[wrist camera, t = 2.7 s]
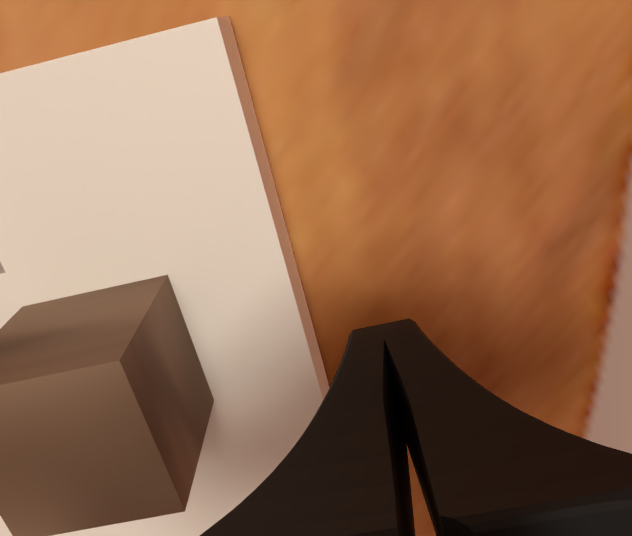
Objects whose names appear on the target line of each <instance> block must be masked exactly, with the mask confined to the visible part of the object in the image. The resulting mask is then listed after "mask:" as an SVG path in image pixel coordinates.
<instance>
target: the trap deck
mask: <svg viewBox="0 0 632 536" xmlns="http://www.w3.org/2000/svg"><path fill="white" fill-rule="evenodd" d="M164 275H168V277H169V280H170V282H171V285H172V288H173V290H174V293H175V296H176V299H177V301H178V304H179V307H180V309H181V312H182V315H183V317H184V320H185V323H186V326H187V328H188V331H189V334H190V336H191V339H192V342H193V344H194V347H195V350H196V353H197V355H198V358H199V361H200V363H201V366H202V369H203V371H204V374H205V377H206V380H207V382H208V385H209V388H210V390H211V393H212V396H213V399H214V403H213V407H212V410H211V414H210V418H209V422H208V426H207V430H206V433H205V437H204V441H203V445H202V449H201V453H200V456H199V460H198V464H197V468H196V472H195V476H194V479H193V483H192V487H191V491H190V495H189V499H188V502H187V506H186V510H185V512H180V513H174V514H168V515H163V516H157V517H152V518H146V519H141V520H135V521H129V522H124V523H118V524H113V525H107V526H102V527H96V528H90V529H85V530H79V531H74V532H68V533H63V534H57V535H51V536H200V535H201V534H202V533H204V532H205V531H206V530H207V529H209V528H210V527H211V526H213V525H214V524H215V523H216V522H218V521H219V520H220V519H221V518H223V517H224V516H225V515H227V514H228V513H229V512H230V511H232V510H233V509H234V508H235V507H236V506H237V505H239V504H240V503H241V502H242V501H243V500H244V499H245V498H246V497H247V496H248V495H250V494H251V493H252V492H253V491H254V490H255V489H256V488H257V487H258V486H259V485H260V484H261V483H262V482H263V481H264V480H265V479H266V478H267V477H268V476H269V475H270V474H271V473H272V472H273V471H274V469H275V468H276V467H277V466H278V465H279V464H280V462H281V461H282V460H283V459H284V458H285V457H286V455H287V454H288V453H289V452H290V450H291V449H292V448H293V447H294V445H295V444H296V443H297V441H298V440H299V438H300V437H301V436H302V434H303V433H304V431H305V430H306V428H307V427H308V425H309V424H310V422H311V421H312V419H313V417H314V416H315V414H316V412H317V410H318V409H319V407H320V405H321V403H322V401H323V399H324V398H325V396H326V394H327V392H328V390H329V388H330V387H329V383H328V380H327V376H326V372H325V369H324V365H323V361H322V358H321V354H320V350H319V346H318V343H317V339H316V335H315V332H314V328H313V324H312V321H311V317H310V313H309V309H308V306H307V302H306V298H305V295H304V291H303V287H302V284H301V280H300V276H299V272H298V269H297V265H296V261H295V258H294V254H293V250H292V247H291V243H290V239H289V235H288V232H287V228H286V224H285V221H284V217H283V213H282V210H281V206H280V202H279V198H278V195H277V191H276V187H275V184H274V180H273V176H272V173H271V169H270V165H269V161H268V158H267V154H266V150H265V147H264V143H263V139H262V136H261V132H260V128H259V124H258V121H257V117H256V113H255V110H254V106H253V102H252V99H251V95H250V91H249V87H248V84H247V80H246V76H245V73H244V69H243V65H242V62H241V58H240V54H239V50H238V47H237V43H236V39H235V36H234V32H233V28H232V25H231V21H230V17H216V18H212V19H208V20H204V21H200V22H197V23H193V24H189V25H185V26H181V27H177V28H173V29H170V30H166V31H162V32H158V33H154V34H150V35H146V36H143V37H139V38H135V39H131V40H127V41H123V42H119V43H116V44H112V45H108V46H104V47H100V48H96V49H92V50H89V51H85V52H81V53H77V54H73V55H69V56H65V57H62V58H58V59H54V60H50V61H46V62H42V63H38V64H35V65H31V66H27V67H23V68H19V69H15V70H11V71H8V72H4V73H0V329H1V328H2V327H3V326H4V325H5V324H6V322H7V321H8V320H9V319H10V318H11V317H12V316H13V315H14V314H15V313H16V312H17V311H18V310H19V309H20V308H21V307H22V306H27V305H31V304H36V303H41V302H45V301H50V300H54V299H59V298H63V297H68V296H73V295H77V294H82V293H86V292H91V291H95V290H100V289H105V288H109V287H114V286H118V285H123V284H127V283H132V282H137V281H141V280H146V279H150V278H155V277H159V276H164ZM0 536H12V534H11V532H10V531H9V529H8V527H7V526H6V524H5V522H4V521H3V519H2V517H1V516H0Z"/></svg>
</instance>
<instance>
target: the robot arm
mask: <svg viewBox="0 0 632 536" xmlns="http://www.w3.org/2000/svg"><path fill="white" fill-rule="evenodd" d="M406 443H407V444H406ZM407 446H408V449H409V452H410V455H411V458H412V461H413V465H414V468H415V471H416V474H417V477H418V480H419V483H420V486H421V489H422V492H423V495H424V499H425V502H426V505H427V508H428V511H429V514H430V517H431V520H432V523H433V526H434V529H435V532H436V536H632V454H630V453H627V452H623V451H620V450H617V449H613V448H609V447H606V446H603V445H600V444H597V443H594V442H591V441H589V440H586V439H583V438H581V437H578V436H575V435H573V434H570V433H567V432H565V431H563V430H560V429H558V428H556V427H553V426H551V425H549V424H547V423H545V422H543V421H541V420H538V419H536V418H534V417H532V416H530V415H528V414H526V413H524V412H522V411H520V410H518V409H517V408H515V407H513V406H511V405H510V404H508V403H507V402H505V401H503V400H502V399H500V398H499V397H497V396H495V395H494V394H492V393H491V392H490V391H488V390H487V389H485V388H484V387H482V386H481V385H480V384H478V383H477V382H476V381H475V380H473V379H472V378H471V377H469V376H468V375H467V374H466V373H464V372H463V371H462V370H461V369H460V368H458V367H457V366H456V365H455V364H454V363H453V362H452V361H451V360H449V359H448V358H447V357H446V356H445V355H444V354H443V353H442V352H441V351H440V350H439V349H438V348H437V347H436V346H435V345H434V344H433V343H432V342H431V341H430V340H429V339H428V338H427V337H426V336H425V334H424V333H423V332H422V331H421V330H420V328H419V327H418V326H417V324H416V323H415V322H414V321H412V320H411V319H405V320H400V321H395V322H391V323H386V324H381V325H376V326H371V327H366V328H361V329H356V330H353V331H352V332H351V334H350V335H349V339H348V343H347V346H346V349H345V352H344V355H343V358H342V360H341V363H340V366H339V368H338V370H337V373H336V375H335V377H334V379H333V382H332V384H331V386H330V388H329V390H328V392H327V394H326V396H325V398H324V399H323V401H322V403H321V405H320V407H319V409H318V410H317V412H316V414H315V416H314V417H313V419H312V421H311V422H310V424H309V425H308V427H307V428H306V430H305V431H304V433H303V434H302V436H301V437H300V438H299V440H298V441H297V443H296V444H295V445H294V447H293V448H292V449H291V450H290V452H289V453H288V454H287V455H286V457H285V458H284V459H283V460H282V461H281V462H280V464H279V465H278V466H277V467H276V468H275V469H274V471H273V472H272V473H271V474H270V475H269V476H268V477H267V478H266V479H265V480H264V481H263V482H262V483H261V484H260V485H259V486H258V487H257V488H256V489H255V490H254V491H253V492H252V493H251V494H250V495H248V496H247V497H246V498H245V499H244V500H243V501H242V502H241V503H240V504H239V505H237V506H236V507H235V508H234V509H233V510H232V511H230V512H229V513H228V514H227V515H225V516H224V517H223V518H221V519H220V520H219V521H218V522H216V523H215V524H214V525H213V526H211V527H210V528H209V529H207V530H206V531H205V532H204V533H202V534H201V535H200V536H415V529H414V518H413V507H412V497H411V486H410V475H409V465H408V455H407Z"/></svg>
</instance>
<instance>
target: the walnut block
mask: <svg viewBox="0 0 632 536" xmlns="http://www.w3.org/2000/svg"><path fill="white" fill-rule="evenodd" d="M213 403H214V399H213V396H212V393H211V390H210V388H209V385H208V382H207V380H206V377H205V374H204V371H203V369H202V366H201V363H200V361H199V358H198V355H197V353H196V350H195V347H194V344H193V342H192V339H191V336H190V334H189V331H188V328H187V326H186V323H185V320H184V317H183V315H182V312H181V309H180V307H179V304H178V301H177V299H176V296H175V293H174V290H173V288H172V285H171V282H170V280H169V277H168V275H164V276H159V277H155V278H150V279H146V280H141V281H137V282H132V283H127V284H123V285H118V286H114V287H109V288H105V289H100V290H95V291H91V292H86V293H82V294H77V295H73V296H68V297H63V298H59V299H54V300H50V301H45V302H41V303H36V304H31V305H27V306H22V307H21V308H20V309H19V310H18V311H17V312H16V313H15V314H14V315H13V316H12V317H11V318H10V319H9V320H8V321H7V322H6V324H5V325H4V326H3V327H2V328H1V329H0V516H1V517H2V519H3V521H4V522H5V524H6V526H7V527H8V529H9V531H10V532H11V534H12V536H51V535H57V534H63V533H68V532H74V531H79V530H85V529H90V528H96V527H102V526H107V525H113V524H118V523H124V522H129V521H135V520H141V519H146V518H152V517H157V516H163V515H168V514H174V513H180V512H185V510H186V506H187V502H188V499H189V495H190V491H191V487H192V483H193V479H194V476H195V472H196V468H197V464H198V460H199V456H200V453H201V449H202V445H203V441H204V437H205V433H206V430H207V426H208V422H209V418H210V414H211V410H212V407H213Z"/></svg>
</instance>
